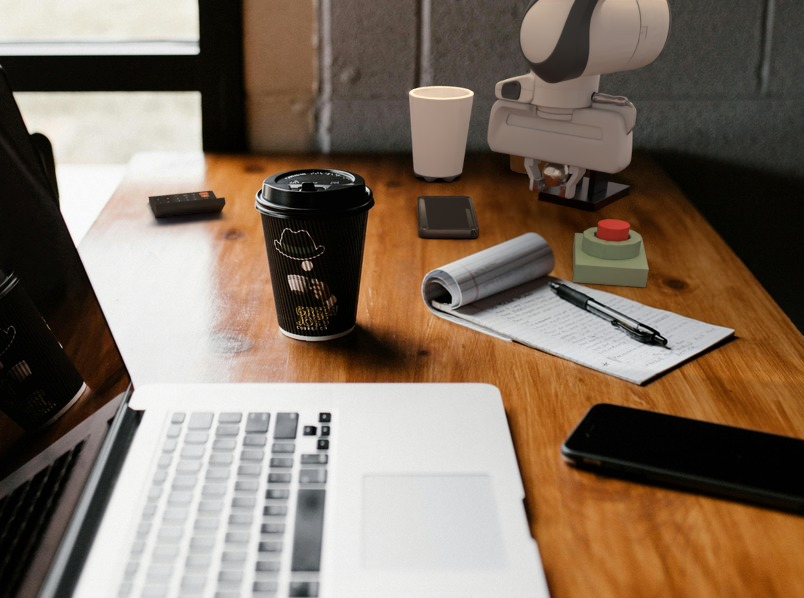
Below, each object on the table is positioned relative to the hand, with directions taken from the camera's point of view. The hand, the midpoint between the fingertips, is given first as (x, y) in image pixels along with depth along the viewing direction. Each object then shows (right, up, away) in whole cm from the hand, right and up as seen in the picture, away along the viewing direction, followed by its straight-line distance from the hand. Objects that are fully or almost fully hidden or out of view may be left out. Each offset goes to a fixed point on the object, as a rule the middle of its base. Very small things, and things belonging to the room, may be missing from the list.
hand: (551, 193), depth 119 cm
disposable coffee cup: (+1, +9, +21) cm, 23 cm away
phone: (-15, -4, -1) cm, 15 cm away
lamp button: (+3, -10, -19) cm, 21 cm away
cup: (-14, +7, +18) cm, 24 cm away
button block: (+3, -13, -17) cm, 21 cm away
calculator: (-51, -2, +4) cm, 51 cm away
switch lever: (+4, +6, +2) cm, 7 cm away
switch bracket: (+7, +2, +8) cm, 10 cm away
